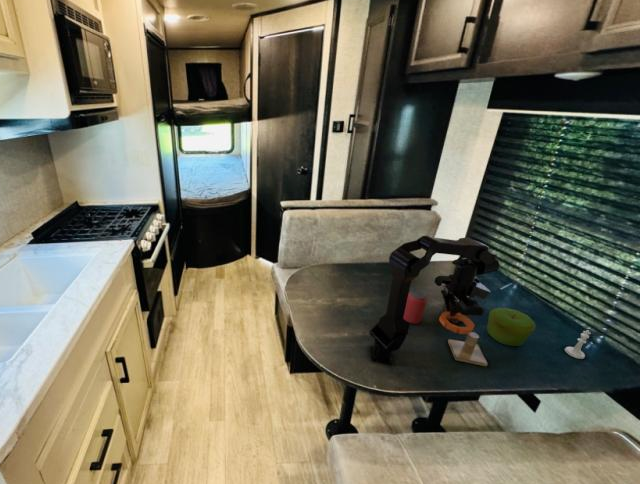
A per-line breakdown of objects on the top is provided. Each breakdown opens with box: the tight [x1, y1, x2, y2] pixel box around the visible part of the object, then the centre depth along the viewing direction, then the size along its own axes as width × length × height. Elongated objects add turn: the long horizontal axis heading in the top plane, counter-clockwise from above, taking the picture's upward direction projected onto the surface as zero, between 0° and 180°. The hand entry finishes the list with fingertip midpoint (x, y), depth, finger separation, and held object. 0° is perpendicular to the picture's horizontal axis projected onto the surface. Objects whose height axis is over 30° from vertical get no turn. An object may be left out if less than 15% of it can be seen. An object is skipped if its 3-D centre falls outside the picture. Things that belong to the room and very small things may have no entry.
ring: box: [438, 311, 476, 335], centre depth 104 cm, size 9×9×2 cm
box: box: [440, 296, 472, 325], centre depth 121 cm, size 6×4×12 cm
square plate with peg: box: [447, 331, 488, 367], centre depth 105 cm, size 9×9×8 cm
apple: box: [486, 307, 537, 347], centre depth 110 cm, size 12×12×11 cm
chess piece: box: [564, 329, 592, 360], centre depth 104 cm, size 5×5×10 cm
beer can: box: [403, 289, 428, 324], centre depth 120 cm, size 7×7×12 cm
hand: (450, 314), depth 108 cm, fingers closed on ring, 1 cm apart
